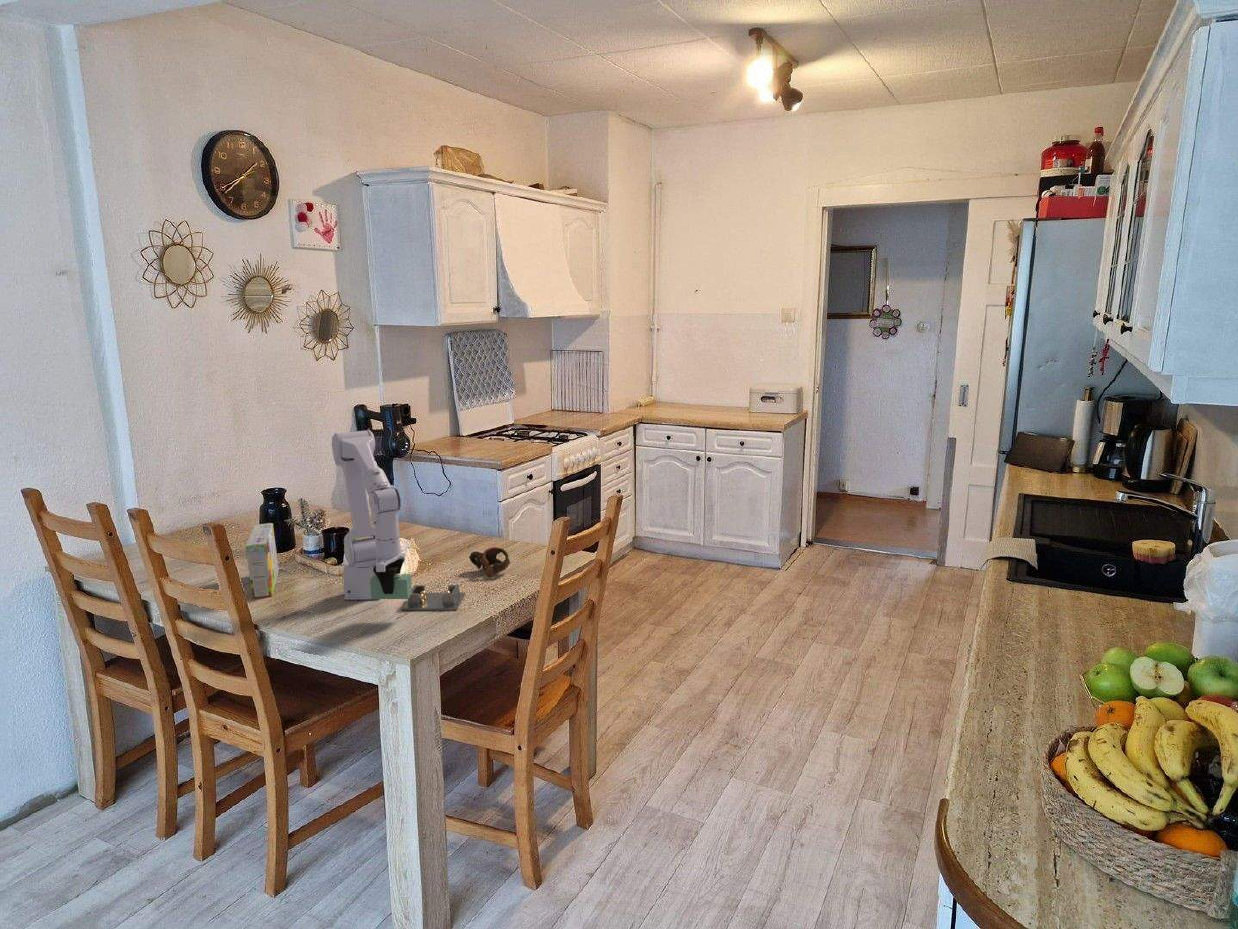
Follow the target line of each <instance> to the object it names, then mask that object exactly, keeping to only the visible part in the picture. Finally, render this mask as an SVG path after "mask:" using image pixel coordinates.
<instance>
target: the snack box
mask: <svg viewBox="0 0 1238 929" xmlns="http://www.w3.org/2000/svg"><path fill="white" fill-rule="evenodd" d="M274 530H275V529H274V523H272V522H267V523H261V524H260V523H258V524H254V525H253V528H252V530H251V533H250V536H248V539H247V541H246V544H245V552H246V553H245V554H246V559H247V560H246V561H247V567H248V574H249V582H250V583H249V584H250V589H251V598H252V599H259V598H266V597H272V596H273V594H274V590H275V588H276V587H275V586H276V583H277V579H278V576H279V573H280V568H279V567H280V566H279V562H278V561H279V560H278V553H277V546H276V539H275V538H276V537H275V531H274Z"/></svg>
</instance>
